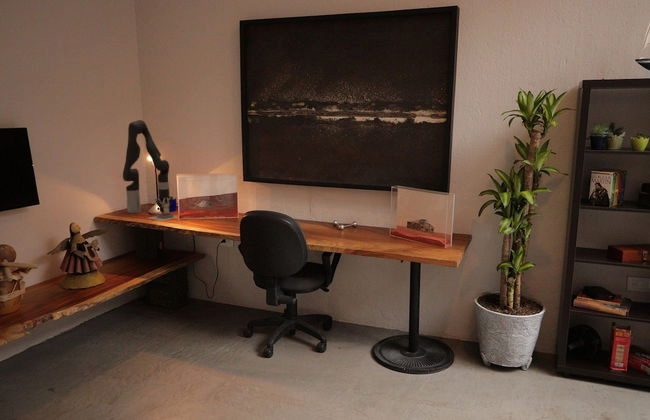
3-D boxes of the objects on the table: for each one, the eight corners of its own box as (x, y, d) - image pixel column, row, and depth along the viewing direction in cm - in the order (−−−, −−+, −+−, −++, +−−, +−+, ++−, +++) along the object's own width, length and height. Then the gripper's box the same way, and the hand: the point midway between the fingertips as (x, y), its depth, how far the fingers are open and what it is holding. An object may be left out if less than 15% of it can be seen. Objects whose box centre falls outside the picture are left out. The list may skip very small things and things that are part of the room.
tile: (156, 214, 378) (164, 216, 373) (165, 212, 384) (173, 214, 379) (156, 217, 378) (164, 219, 373) (165, 215, 385) (173, 217, 379)
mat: (147, 218, 377) (147, 217, 377) (166, 214, 389) (166, 214, 389) (160, 221, 367) (160, 220, 367) (179, 217, 380) (179, 216, 380)
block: (161, 213, 377) (160, 203, 376) (165, 212, 380) (165, 202, 379) (164, 213, 375) (163, 204, 374) (169, 212, 378) (168, 203, 377)
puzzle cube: (168, 213, 394) (167, 200, 392) (158, 212, 399) (157, 199, 397) (177, 211, 403) (176, 198, 401) (167, 209, 408) (166, 197, 406)
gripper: (158, 189, 366) (159, 213, 370) (175, 187, 377) (176, 210, 381) (151, 188, 371) (153, 212, 374) (168, 186, 382) (170, 209, 385)
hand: (165, 211), depth 378 cm, fingers closed on block, 4 cm apart
